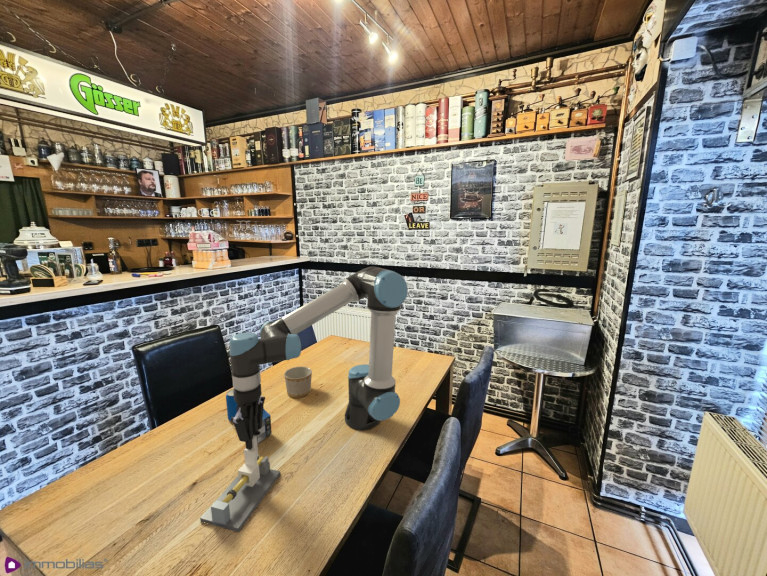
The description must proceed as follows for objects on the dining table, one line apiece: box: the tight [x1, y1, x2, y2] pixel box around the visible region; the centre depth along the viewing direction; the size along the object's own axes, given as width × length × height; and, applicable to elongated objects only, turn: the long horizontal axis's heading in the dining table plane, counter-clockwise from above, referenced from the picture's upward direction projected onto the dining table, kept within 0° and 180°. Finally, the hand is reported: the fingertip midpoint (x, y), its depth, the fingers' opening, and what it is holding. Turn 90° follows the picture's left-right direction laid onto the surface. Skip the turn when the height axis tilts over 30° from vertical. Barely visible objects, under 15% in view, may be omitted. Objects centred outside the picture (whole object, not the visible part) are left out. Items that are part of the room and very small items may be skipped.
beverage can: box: [225, 388, 237, 422], centre depth 129 cm, size 6×6×12 cm
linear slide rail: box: [199, 454, 281, 533], centre depth 93 cm, size 12×20×6 cm, turn 166°
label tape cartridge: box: [257, 406, 273, 445], centre depth 116 cm, size 9×4×12 cm, turn 151°
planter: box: [283, 366, 313, 399], centre depth 149 cm, size 13×13×10 cm
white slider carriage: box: [237, 447, 260, 487], centre depth 95 cm, size 5×4×10 cm
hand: (252, 455), depth 97 cm, fingers closed
